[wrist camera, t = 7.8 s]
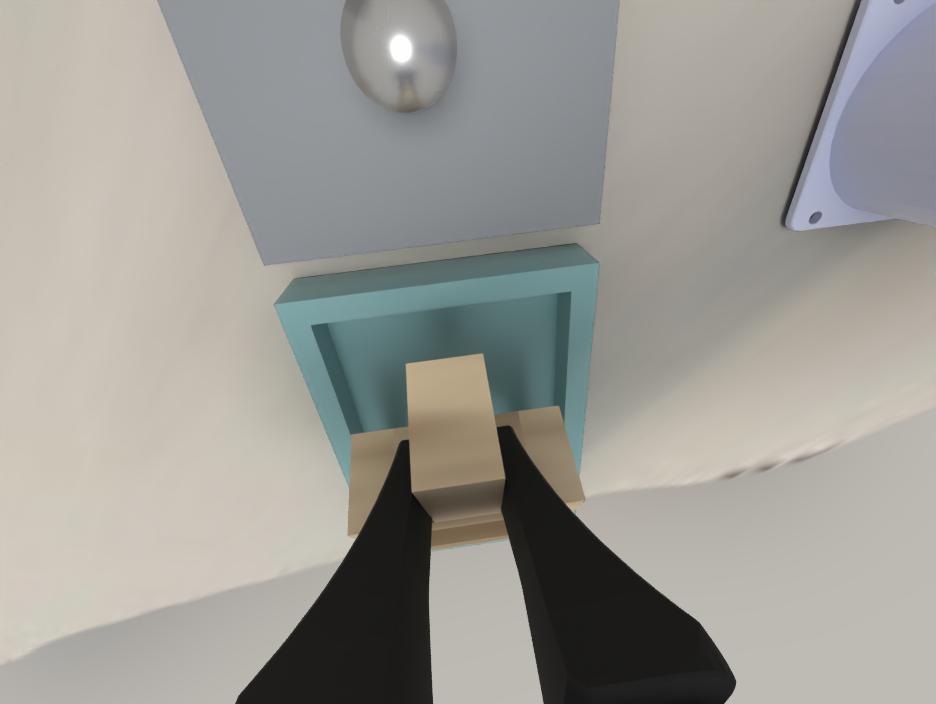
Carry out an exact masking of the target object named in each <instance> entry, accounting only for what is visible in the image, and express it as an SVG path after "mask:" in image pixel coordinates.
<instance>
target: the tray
mask: <svg viewBox="0 0 936 704" xmlns="http://www.w3.org/2000/svg"><path fill="white" fill-rule="evenodd" d="M598 274H599V262H598V261H597V260H596V259H595V258H593V257H592V256H591V255H590V254H589V253H588V252H586V251H585V250H584V249H583V248H582V247H581V246H579V245H578V244H577V243H575V244H567V245H559V246H551V247H543V248H535V249H528V250H520V251H512V252H504V253H496V254H488V255H480V256H472V257H464V258H456V259H448V260H440V261H432V262H425V263H417V264H409V265H401V266H393V267H385V268H377V269H369V270H361V271H353V272H345V273H337V274H329V275H322V276H314V277H306V278H298V279H294V280H293V281H292V282H291V283H290V285H289V286H288V287H287V288H286V290H285V291H284V292H283V293H282V295H281V296H280V297H279V298H278V300H277V301H276V302H275V304H274V306H275V309H276V311H277V314H278V316H279V318H280V321H281V323H282V326H283V328H284V331H285V333H286V335H287V338H288V340H289V343H290V345H291V348H292V350H293V352H294V355H295V357H296V360H297V362H298V365H299V367H300V369H301V372H302V374H303V377H304V379H305V382H306V384H307V386H308V389H309V391H310V394H311V396H312V399H313V401H314V403H315V406H316V408H317V411H318V413H319V416H320V418H321V420H322V423H323V425H324V428H325V430H326V433H327V435H328V437H329V440H330V442H331V445H332V447H333V450H334V452H335V454H336V457H337V459H338V462H339V464H340V467H341V469H342V471H343V474H344V476H345V479H346V481H347V484H348V486H349V485H350V459H351V435H352V434H359V433H366V432H373V431H380V430H387V429H395V428H402V427H409V424H408V403H407V382H406V364H408V363H415V362H422V361H430V360H437V359H445V358H452V357H460V356H467V355H474V354H482V353H483V356H484V362H485V367H486V373H487V378H488V384H489V389H490V395H491V401H492V406H493V412H494V415H495V414H502V413H509V412H516V411H523V410H530V409H537V408H545V407H552V406H559V408H560V411H561V415H562V418H563V422H564V425H565V429H566V432H567V436H568V439H569V443H570V446H571V450H572V454H573V457H574V461H575V464H576V468H577V471H578V475H580V465H581V454H582V443H583V433H584V422H585V412H586V401H587V390H588V380H589V369H590V359H591V348H592V337H593V327H594V316H595V306H596V295H597V285H598ZM573 513H574V514H575V515H576V510H575V511H574V512H573ZM507 540H509V539H504V540H498V541H491V542H484V543H478V544H471V545H464V546H458V547H451V548H444V549H438V550H431V552H432V551H439V550H445V549H453V548H459V547H466V546H472V545H480V544H486V543H493V542H500V541H507Z"/></svg>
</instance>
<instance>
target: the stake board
mask: <svg viewBox="0 0 936 704" xmlns="http://www.w3.org/2000/svg"><path fill="white" fill-rule="evenodd" d="M157 1H158V4H159V6H160V8H161V11H162V13H163V16H164V18H165V21H166V23H167V26H168V28H169V31H170V33H171V36H172V38H173V41H174V43H175V46H176V48H177V51H178V53H179V56H180V58H181V61H182V63H183V66H184V68H185V71H186V73H187V76H188V78H189V81H190V83H191V85H192V88H193V90H194V93H195V95H196V98H197V100H198V103H199V105H200V108H201V110H202V113H203V115H204V118H205V120H206V123H207V125H208V128H209V130H210V133H211V135H212V138H213V140H214V143H215V145H216V148H217V150H218V153H219V155H220V158H221V160H222V162H223V165H224V167H225V170H226V172H227V175H228V177H229V180H230V182H231V185H232V187H233V190H234V192H235V195H236V197H237V200H238V202H239V205H240V207H241V210H242V212H243V215H244V217H245V220H246V222H247V225H248V227H249V230H250V232H251V235H252V237H253V239H254V242H255V244H256V247H257V249H258V252H259V254H260V257H261V259H262V262H263V264H264V266H265V265H273V264H281V263H289V262H297V261H305V260H313V259H321V258H329V257H337V256H345V255H353V254H361V253H369V252H377V251H385V250H393V249H401V248H409V247H417V246H425V245H433V244H441V243H449V242H457V241H465V240H473V239H481V238H489V237H497V236H505V235H513V234H521V233H529V232H537V231H545V230H553V229H561V228H569V227H577V226H585V225H593V224H600V213H601V202H602V191H603V179H604V168H605V157H606V146H607V135H608V123H609V112H610V101H611V90H612V79H613V67H614V56H615V45H616V34H617V22H618V11H619V0H157Z"/></svg>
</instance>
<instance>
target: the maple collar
mask: <svg viewBox="0 0 936 704" xmlns="http://www.w3.org/2000/svg"><path fill="white" fill-rule="evenodd" d="M406 382H407V403H408V424H409V427H402V428H395V429H387V430H380V431H373V432H366V433H359V434H352V435H351V459H350V485H349V511H348V536H350V537H352V538H355V539H356V538H357V536H358V535H359V533H360V531H361V529H362V527H363V525H364V523H365V521H366V520H367V518H368V516H369V514H370V512H371V510H372V508H373V506H374V504H375V502H376V500H377V498H378V495H379V493H380V491H381V489H382V487H383V484H384V482H385V480H386V478H387V475H388V473H389V470H390V468H391V465H392V462H393V460H394V457H395V454H396V451H397V448H398V445H399V443H400V442H401V441H402V440H408V439H409V445H410V466H411V487H412V493H413V495H414V496H415V497H416V498H417V500H418V501H419V502H420V504H421V505H422V506H423V508H424V509H425V510H426V511H427V513H428V514H429V515H430V516H431V517H432V536H431V550H438V549H444V548H451V547H458V546H464V545H471V544H478V543H484V542H491V541H498V540H504V539H509V536H508V533H507V529H506V525H505V522H504V518H503V515H502V511H501V505H502V499H503V492H504V485H505V473H504V467H503V462H502V456H501V451H500V445H499V440H498V434H497V428H496V427H500V426H507V425H509V426H511V427H512V428H513V430H514V432H515V434H516V436H517V437H518V439H519V441H520V443H521V444H522V446H523V448H524V449H525V451H526V452H527V454H528V455H529V457H530V458H531V460H532V461H533V463H534V464H535V466H536V467H537V468H538V470H539V471H540V472H541V474H542V475H543V476H544V478H545V479H546V481H547V482H548V483H549V484H550V486H551V487H552V488H553V489H554V491H555V492H556V493H557V494H558V495H559V497H560V498H561V499H562V500H563V501H564V503H565V504H566V505H567V506H568V507H569V508H570V509H571V511H572V512H574V511H575V510H576V509H577V508H578V507H579V506H580V505H581V504H582V503H583V502H584V501H585V500H586V499H585V496H584V492H583V489H582V485H581V482H580V478H579V475H578V471H577V468H576V464H575V461H574V457H573V454H572V450H571V446H570V443H569V439H568V436H567V432H566V429H565V425H564V422H563V418H562V415H561V411H560V408H559V406H552V407H545V408H537V409H530V410H523V411H516V412H509V413H502V414H495V415H494V412H493V406H492V401H491V395H490V389H489V384H488V378H487V373H486V367H485V362H484V356H483V353H482V354H474V355H467V356H460V357H452V358H445V359H437V360H430V361H422V362H415V363H408V364H406Z"/></svg>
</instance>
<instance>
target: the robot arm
mask: <svg viewBox="0 0 936 704" xmlns="http://www.w3.org/2000/svg"><path fill="white" fill-rule="evenodd" d="M813 213H814V215H813V217H812V218H811V219H810V220H809V218H810V217H811V215H812V214H813ZM889 219H901V220H905V221H910V222H914V223H918V224H923V225H927V226H932V227H936V0H895V1H894V0H862V1H861V4H860V6H859V9H858V12H857V15H856V18H855V21H854V24H853V27H852V30H851V32H850V35H849V38H848V41H847V44H846V47H845V50H844V53H843V55H842V58H841V61H840V64H839V67H838V70H837V73H836V76H835V79H834V81H833V84H832V87H831V90H830V93H829V96H828V99H827V102H826V104H825V107H824V110H823V113H822V116H821V119H820V122H819V125H818V128H817V130H816V133H815V136H814V139H813V142H812V145H811V148H810V151H809V154H808V156H807V159H806V162H805V165H804V168H803V171H802V174H801V177H800V179H799V182H798V185H797V188H796V191H795V194H794V197H793V200H792V203H791V205H790V208H789V211H788V214H787V217H786V221H785V225H786V227H787V228H788V229H791V230H794V231H803V230H811V229H819V228H826V227H834V226H842V225H850V224H858V223H866V222H874V221H881V220H889ZM496 428H497V434H498V440H499V445H500V451H501V456H502V462H503V467H504V473H505V485H504V492H503V499H502V505H501V511H502V515H503V518H504V522H505V525H506V529H507V533H508V536H509V540H510V543H511V547H512V551H513V554H514V558H515V561H516V565H517V568H518V572H519V576H520V580H521V585H522V589H523V594H524V600H525V604H526V610H527V615H528V621H529V626H530V631H531V637H532V642H533V647H534V653H535V658H536V663H537V668H538V674H539V680H540V685H541V691H542V696H543V702H544V704H724V703H725V702H726V701H727V699H728V698H729V697H730V696H731V694H732V693H733V691H734V689H735V686H736V680H735V677H734V675H733V673H732V671H731V669H730V668H729V666H728V664H727V662H726V660H725V659H724V657H723V656H722V654H721V653H720V651H719V650H718V648H717V647H716V645H715V644H714V642H713V641H712V639H711V638H710V636H709V635H708V634H707V632H706V631H705V629H704V628H703V627H702V625H701V624H700V623H699V622H698V621H697V620H696V619H694V618H693V617H692V616H690V615H689V614H687V613H686V612H685V611H684V610H682V609H681V608H679V607H678V606H677V605H675V604H674V603H673V602H671V601H670V600H669V599H668V598H666V597H665V596H664V595H663V594H661V593H660V592H659V591H657V590H656V589H655V588H654V587H653V586H651V585H650V584H649V583H648V582H647V581H645V580H644V579H643V578H642V577H641V576H639V575H638V574H637V573H636V572H634V571H633V570H632V569H631V568H630V567H629V566H627V564H626V563H624V562H623V561H622V560H621V559H620V558H619V557H618V556H617V555H616V554H614V553H613V552H612V551H611V550H610V549H609V548H608V547H607V546H606V545H604V544H603V543H602V542H601V541H600V540H599V539H598V538H597V537H596V536H595V535H594V534H593V533H592V532H591V531H590V530H589V529H588V528H587V527H586V526H585V525H584V523H583V522H582V521H581V520H580V519H579V518H578V517H577V516H576V515H575V514H574V513H573V512H572V511H571V509H570V508H569V507H568V506H567V505H566V504H565V503H564V501H563V500H562V499H561V498H560V497H559V495H558V494H557V493H556V492H555V491H554V489H553V488H552V487H551V486H550V484H549V483H548V482H547V481H546V479H545V478H544V476H543V475H542V474H541V472H540V471H539V470H538V468H537V467H536V466H535V464H534V463H533V461H532V460H531V458H530V457H529V455H528V454H527V452H526V451H525V449H524V448H523V446H522V444H521V443H520V441H519V439H518V437H517V436H516V434H515V432H514V430H513V428H512V427H511V426H509V425H507V426H500V427H496ZM431 536H432V517H431V516H430V515H429V514H428V513H427V511H426V510H425V509H424V508H423V506H422V505H421V504H420V502H419V501H418V500H417V498H416V497H415V496H414V495H413V493H412V487H411V466H410V445H409V439H408V440H402V441H401V442H400V443H399V445H398V448H397V451H396V454H395V457H394V460H393V462H392V465H391V468H390V470H389V473H388V475H387V478H386V480H385V482H384V484H383V487H382V489H381V491H380V493H379V495H378V498H377V500H376V502H375V504H374V506H373V508H372V510H371V512H370V514H369V516H368V518H367V520H366V521H365V523H364V525H363V527H362V529H361V531H360V533H359V535H358V536H357V538H356V540H355V542H354V543H353V545H352V547H351V548H350V550H349V552H348V553H347V555H346V557H345V558H344V560H343V561H342V563H341V565H340V566H339V568H338V569H337V571H336V572H335V574H334V575H333V577H332V578H331V580H330V581H329V583H328V584H327V586H326V587H325V589H324V590H323V591H322V593H321V594H320V596H319V597H318V599H317V600H316V601H315V603H314V604H313V605H312V607H311V608H310V609H309V611H308V612H307V613H306V615H305V616H304V617H303V618H302V620H301V621H300V622H299V624H298V625H297V626H296V628H295V629H294V630H293V632H292V633H291V634H290V636H289V637H288V638H287V639H286V641H285V642H284V643H283V644H282V646H281V647H280V648H279V649H278V650H277V652H276V653H275V654H274V655H273V656H272V658H271V659H270V660H269V661H268V662H267V663H266V664H265V666H264V667H263V668H262V669H261V670H260V671H259V673H258V674H257V675H256V676H255V677H254V679H253V680H252V681H251V682H250V683H249V684H248V686H247V687H246V688H245V689H244V690H243V691H242V692H241V694H240V695H239V696H238V698H237V701H236V703H235V704H433V694H432V674H431V673H432V672H431V649H430V623H429V576H430V556H431Z"/></svg>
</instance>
